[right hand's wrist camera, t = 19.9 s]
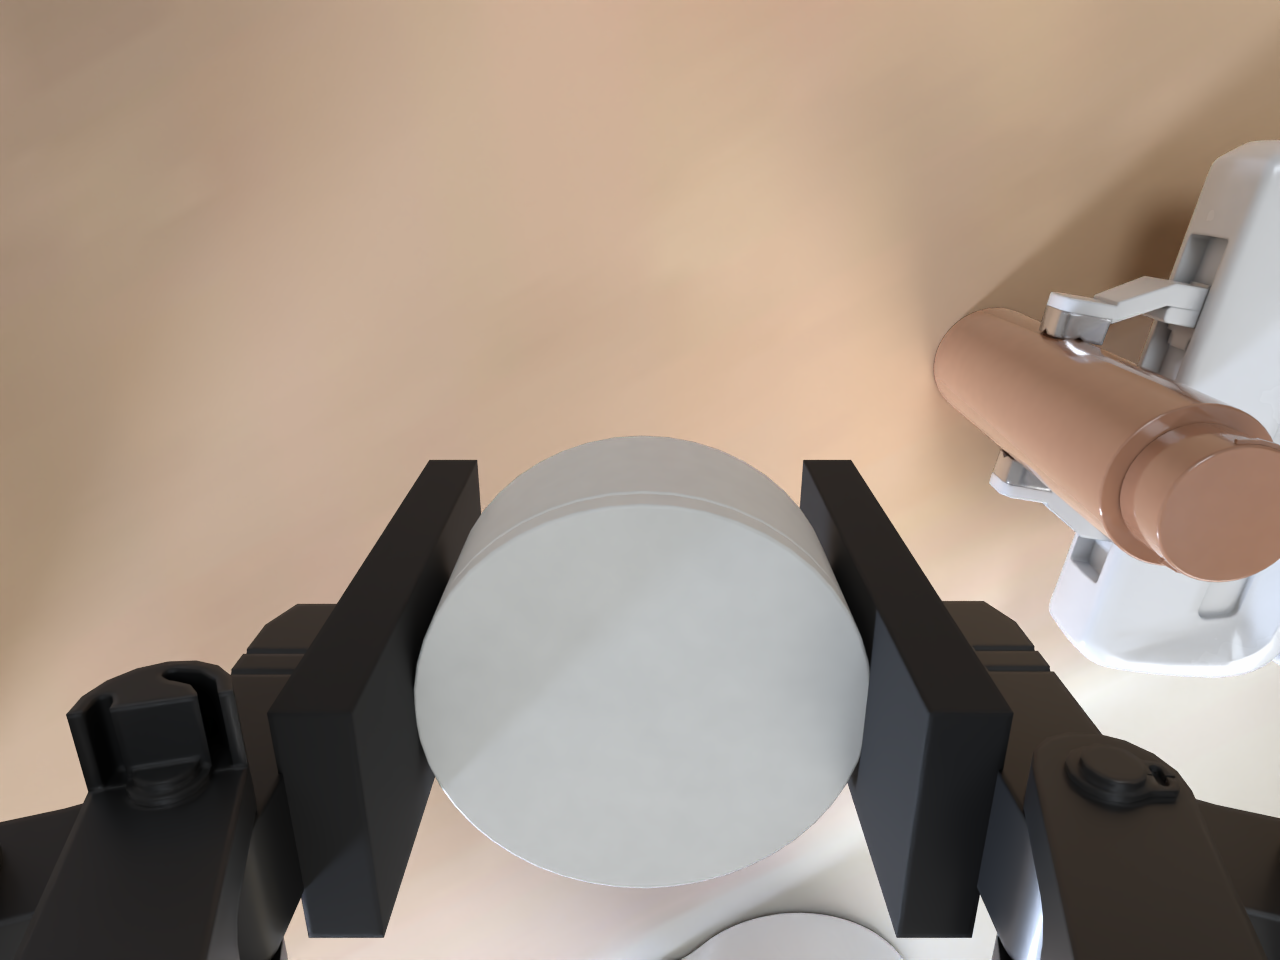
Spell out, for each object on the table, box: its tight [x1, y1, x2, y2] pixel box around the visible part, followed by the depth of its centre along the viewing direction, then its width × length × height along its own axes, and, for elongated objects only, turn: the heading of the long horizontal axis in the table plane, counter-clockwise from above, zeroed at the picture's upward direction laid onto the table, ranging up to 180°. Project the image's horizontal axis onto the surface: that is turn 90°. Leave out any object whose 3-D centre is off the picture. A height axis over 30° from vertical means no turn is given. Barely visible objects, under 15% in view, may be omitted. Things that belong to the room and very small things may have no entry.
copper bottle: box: [934, 308, 1280, 582], centre depth 31 cm, size 5×5×18 cm
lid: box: [414, 436, 870, 888], centre depth 11 cm, size 5×5×2 cm
